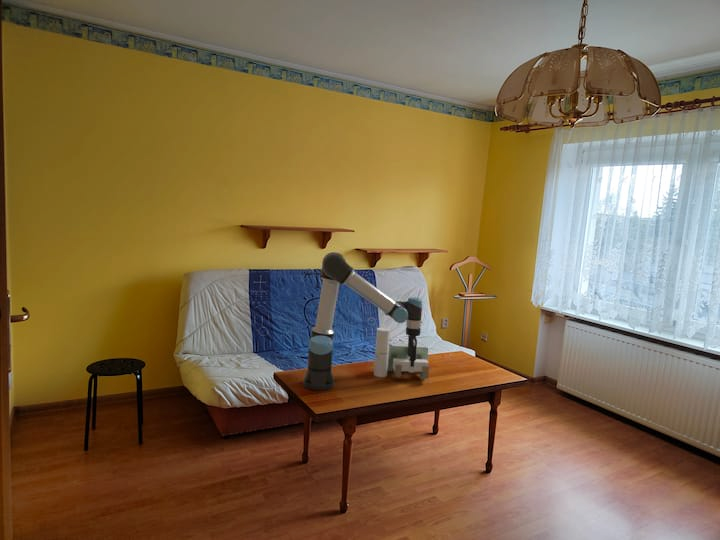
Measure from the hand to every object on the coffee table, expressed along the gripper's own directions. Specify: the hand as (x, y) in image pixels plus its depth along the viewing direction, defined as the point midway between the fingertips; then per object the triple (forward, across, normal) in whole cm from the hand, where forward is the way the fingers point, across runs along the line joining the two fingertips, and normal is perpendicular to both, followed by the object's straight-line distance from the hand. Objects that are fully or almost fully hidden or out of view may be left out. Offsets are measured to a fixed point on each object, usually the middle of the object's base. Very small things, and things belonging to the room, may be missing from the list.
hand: (410, 370), depth 245 cm
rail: (0, 0, 0) cm, 0 cm away
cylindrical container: (+5, +4, +15) cm, 17 cm away
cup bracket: (+5, +3, 0) cm, 6 cm away
